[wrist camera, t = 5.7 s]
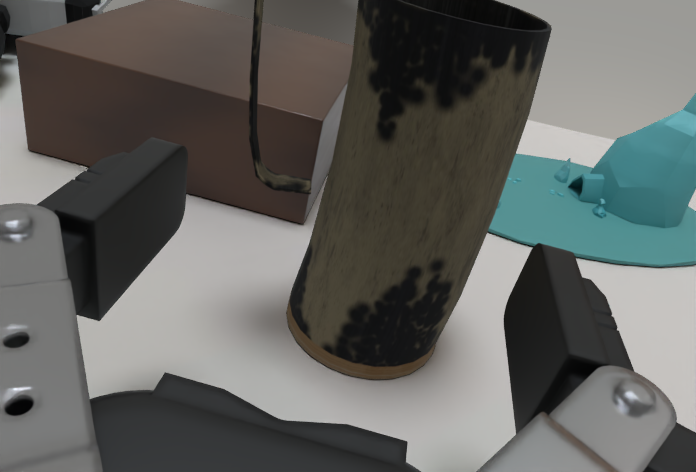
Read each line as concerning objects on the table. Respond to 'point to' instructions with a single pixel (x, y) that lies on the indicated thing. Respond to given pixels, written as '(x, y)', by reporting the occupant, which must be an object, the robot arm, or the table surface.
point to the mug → (408, 175)
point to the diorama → (611, 198)
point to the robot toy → (43, 15)
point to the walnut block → (188, 97)
